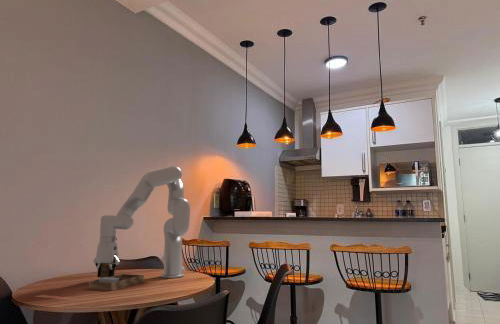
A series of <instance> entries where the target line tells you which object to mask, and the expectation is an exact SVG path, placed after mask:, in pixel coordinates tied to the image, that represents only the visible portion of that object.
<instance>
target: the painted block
mask: <svg viewBox="0 0 500 324" xmlns="http://www.w3.org/2000/svg"><path fill="white" fill-rule="evenodd" d="M98 279H99V282H110V283H114V282H117V281H119V278H113V277H103V278H100V277H98Z"/></svg>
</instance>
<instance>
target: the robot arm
mask: <svg viewBox="0 0 500 324" xmlns="http://www.w3.org/2000/svg"><path fill="white" fill-rule="evenodd" d="M182 175H183V173H182V170H181V168H180V167H179V166H176V165H171V166H169V167H164V168H160V169H157V170H152V171H150V172H149V171H148V172H146V173H145V174H144V175H143V176H141V178H140V180H139V182H137V184H136V186H135V188H134V190H133V191H132V193H131V194H130V195H129V197H128V198H127V199H126V201H125V202H124V203H123V204H122V206H121V207H120V209H119V210H118V212H117V213H116V214H115V215H114V214H113V215H111V214H110V215H107V214H106V215H105V214H104V215H102V216H101V218H100V226H99V227H100V229H99V242H98V245H97V247H96V248H97V250H96V257H95V258H94V259H93V263H94V265H95V267H96V269H97V278H100V276H101V264H102V263H106V264H109V266H110V270H109V277H111V276H115V269H117V267H118V266H119V264H120V263H121V261H120V259H119V247H118V243H117V242H116V241H118V238H117V230H122V231H123V230H129V229H131V228H132V226H133V225H134V218H133V215H134V214H135V212H136V211H138V209H140V208H141V207H142V206H143V205H144V204H146V203H147V201H148V199H149V198H150V196H151V195H152V192H153V191H154V190H155V188H156V187H160V186H165V185H166V186H167V188H168V198H167V201H168V202H167V211H168V214H170V215H171V216H172V217H171V218H168V219H167V220H166V221H165V222H164V224H163V234H164V235H163V236H164V248H163V249H164V250H163V252H164V255H163V272H162V273H161V274H160V277H161V278H164V279H165V278H166V279H174V278H182V277H184V276H185V273H184V272H183V271H184V270H185V267H184V266H182V264H183V263H182V259H183V258H182V257H183V254H182V253H183V239H182V236H185V234H186V233H188V231H189V229H190V219H191V204H190V202H189V201H188V200H187V199H186V198H184V197H185V194H184V193H185V187H184V183H183V181H182V180H181V178H182ZM112 265H113V266H112Z"/></svg>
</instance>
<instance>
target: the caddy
mask: <svg viewBox="0 0 500 324" xmlns="http://www.w3.org/2000/svg"><path fill="white" fill-rule="evenodd" d="M111 277H113V278H119V281H117V282H114V283H110V282H99V278H98V279H94V280H89V282H88V290H89V289H90V290H100V291H101V290H102V291H116V290H119V289H122V288H126V287H129V286H133V285H136V284H140V283H143V282H144V277H145V276H144V274H129V273H128V274H127V273H121V274H114V276H111Z"/></svg>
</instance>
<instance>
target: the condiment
mask: <svg viewBox="0 0 500 324" xmlns="http://www.w3.org/2000/svg"><path fill="white" fill-rule="evenodd" d="M112 266H113V265H112ZM109 270H110V266H109V264H106V263H102V264H101V276H100V277H99V278H103V277H109Z"/></svg>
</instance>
